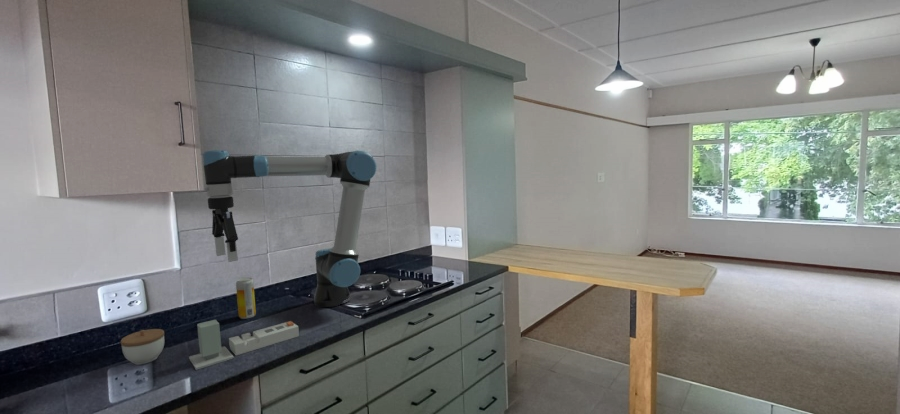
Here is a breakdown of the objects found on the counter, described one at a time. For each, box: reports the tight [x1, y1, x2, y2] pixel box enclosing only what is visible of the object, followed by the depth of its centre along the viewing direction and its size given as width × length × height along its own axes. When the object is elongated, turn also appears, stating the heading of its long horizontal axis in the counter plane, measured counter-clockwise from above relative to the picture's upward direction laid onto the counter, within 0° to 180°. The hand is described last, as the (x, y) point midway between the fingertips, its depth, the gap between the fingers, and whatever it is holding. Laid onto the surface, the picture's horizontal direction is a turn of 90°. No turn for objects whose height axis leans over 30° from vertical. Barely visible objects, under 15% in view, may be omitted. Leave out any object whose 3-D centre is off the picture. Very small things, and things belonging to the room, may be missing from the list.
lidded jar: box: [120, 328, 165, 365], centre depth 125 cm, size 11×11×9 cm
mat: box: [188, 345, 234, 371], centre depth 125 cm, size 10×10×1 cm
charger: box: [196, 319, 222, 360], centre depth 125 cm, size 5×4×10 cm
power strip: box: [228, 320, 300, 356], centre depth 136 cm, size 20×7×4 cm, turn 132°
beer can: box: [235, 277, 257, 320], centre depth 159 cm, size 6×6×15 cm
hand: (226, 258), depth 140 cm, fingers open, 13 cm apart
